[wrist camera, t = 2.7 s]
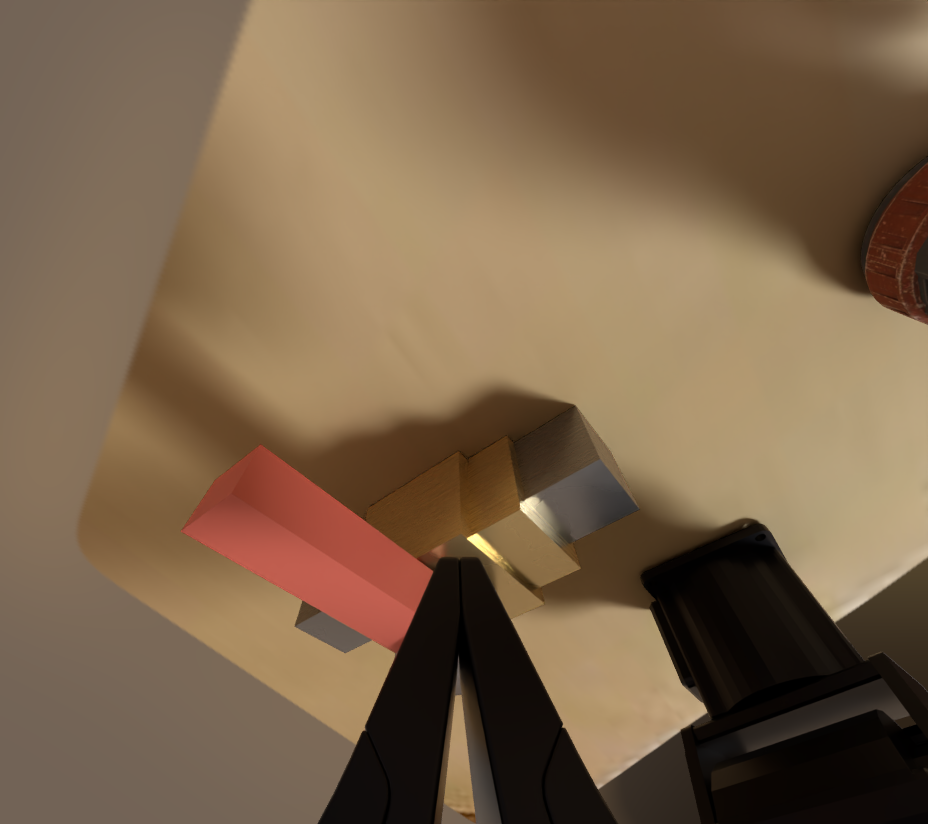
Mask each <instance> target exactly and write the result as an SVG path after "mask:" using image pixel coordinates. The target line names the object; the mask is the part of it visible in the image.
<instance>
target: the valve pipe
mask: <svg viewBox="0 0 928 824" xmlns="http://www.w3.org/2000/svg"><path fill="white" fill-rule="evenodd" d="M637 510H639V507H638V505H637V503H636V501H635V499H634V497H633V495H632V493H631V491H630V489H629V487H628V485H627V483H626V481H625V479H624V477H623V475H622V473H621V471H620V469H619V467H618V465H617V463H616V461H615V459H614V457H613V455H612V453H611V452H610V450H609V449H608V448H607V446H606V445H605V444H604V442H603V441H602V440H601V438H600V437H599V436H598V434H597V433H596V432H595V430H594V429H593V428H592V426H591V425H590V424H589V423H588V421H587V420H586V419H585V417H584V416H583V415H582V413H581V412H580V411H579V409H578V408H577V407H576V406H574V407H572V408H571V409H569V410H567V411H566V412H564V413H563V414H561V415H559V416H558V417H556V418H554V419H553V420H551V421H549V422H548V423H546V424H544V425H543V426H541V427H539V428H538V429H536V430H534V431H533V432H531V433H530V434H528V435H526V436H525V437H523V438H521V439H520V440H518V441H516V442H515V443H513V442H512V441H511V440H510V439H509V437H508V436H505V437H503V438H502V439H500V440H499V441H497V442H495V443H494V444H492V445H491V446H489V447H487V448H486V449H484V450H482V451H481V452H479V453H478V454H476V455H474V456H473V457H471V458H469V459H468V460H467V459H466V458H465V457H464V456H463V455H462V454H461V453H460V452H459V451H458V452H456V453H455V454H453V455H452V456H450V457H448V458H447V459H445V460H444V461H442V462H440V463H439V464H437V465H436V466H434V467H432V468H431V469H429V470H428V471H426V472H425V473H423V474H421V475H420V476H418V477H417V478H415V479H413V480H412V481H410V482H409V483H407V484H406V485H404V486H402V487H401V488H399V489H398V490H396V491H394V492H393V493H391V494H390V495H388V496H386V497H385V498H383V499H382V500H380V501H379V502H377V503H375V504H374V505H372V506H371V507H369V508H368V512H367V516H366V522H367V523H368V524H370V525H371V526H372V527H374V528H375V529H376V530H378V531H379V532H380V533H382V534H383V535H385V536H386V537H387V538H389V539H390V540H391V541H393V542H394V543H395V544H397V545H398V546H399V547H401V548H402V549H404V550H405V551H406V552H408V553H409V554H410V555H412V556H413V557H414V558H416V559H417V560H418V561H420V562H421V563H423V564H424V565H425V566H427V567H428V568H429V569H431V570H432V571H434V569H435V567H436V564H437V562H438V560H439V559H440V558H441V557H457V558H458V559H459V561H460V558H461V557H478V558H479V559H480V560H481V562H482V564H483V566H484V568H485V570H486V572H487V574H488V576H489V578H490V580H491V582H492V584H493V586H494V588H495V590H496V592H497V594H498V596H499V598H500V600H501V602H502V603H503V605H504V607H505V609H506V611H507V613H508V615H509V617H510V619H512V618H514V617H517V616H519V615H521V614H523V613H526V612H528V611H530V610H532V609H534V608H537V607H539V606H541V605H543V604H545V602H544V597H543V592H542V586H544V585H546V584H548V583H551V582H553V581H555V580H557V579H559V578H561V577H564V576H566V575H568V574H570V573H572V572H574V571H577V570H579V569H581V567H580V564H579V560H578V557H577V554H576V550H575V547H574V544H573V542H574V541H576V540H578V539H580V538H582V537H584V536H586V535H588V534H590V533H592V532H594V531H596V530H598V529H600V528H603V527H605V526H607V525H609V524H611V523H613V522H615V521H617V520H619V519H621V518H623V517H625V516H627V515H629V514H631V513H633V512H635V511H637ZM295 627H296V628H298V629H300V630H302V631H304V632H306V633H308V634H310V635H312V636H314V637H315V638H317V639H319V640H321V641H323V642H325V643H327V644H329V645H331V646H333V647H334V648H336V649H338V650H340V651H342V652H344V653H347V652H349V651H351V650H353V649H355V648H357V647H359V646H361V645H363V644H365V643H367V642H369V641H371V640H372V639H370V638H368V637H366V636H365V635H363V634H361V633H359V632H358V631H356V630H354V629H352V628H350V627H349V626H347V625H345V624H343V623H342V622H340V621H338V620H336V619H335V618H333V617H331V616H329V615H328V614H326V613H324V612H322V611H320V610H319V609H317V608H315V607H313V606H312V605H310V604H308V603H306V602H305V601H302V604H301V607H300V610H299V614H298V617H297V620H296V623H295ZM376 643H377V642H376ZM378 644H379V643H378ZM380 645H381V644H380ZM383 647H384V646H383ZM385 648H386V647H385ZM387 649H388V648H387ZM392 652H393V651H392ZM394 653H395V652H394Z"/></svg>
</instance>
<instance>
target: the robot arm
mask: <svg viewBox="0 0 928 824" xmlns="http://www.w3.org/2000/svg"><path fill="white" fill-rule="evenodd" d="M640 579H641V581H642V584H643V586H644V588H645V589H646V590H647V591H648V592H649V593H650V594H651V595H652V596H653V597H654V598H655V600H656V601H654V602H651V606H650V610H651V612H652V614H653V617H654V619H655V621H656V624H657V626H658V629H659V631H660V633H661V636H662V638H663V640H664V643H665V645H666V648H667V650H668V652H669V655H670V657H671V660H672V662H673V664H674V667H675V669H676V671H677V674H678V676H679V679H680V681H681V683H682V685H683V686H684V687H685V688H686V689H688V690H689V691H690V692H691V693H692V694H693V695H694V696H695V697H696V698H697V699H698V700H699V701H701V702H702V703H704V705H705V707H706V709H707V712H708V714H709V716H710V718H711V721H709V722H706V723H703V724H701V725H698V726H696V727H695V726H692V725H691V726H688V727H686V728H683V729H681V735H682V739H683V744H684V748H685V756H686V760H687V764H688V769H689V773H690V777H691V782H692V785H693V790H694V794H695V799H696V803H697V807H698V812H699V816H700V820H701V824H928V692H927V691H926V690H925V688H924V687H923V686H922V685H921V684H919V683H918V682H917V681H916V680H915V679H914V678H912V677H911V676H910V675H909V674H908V673H907V672H906V671H904V670H903V669H902V668H901V667H900V666H898V665H897V664H896V663H895V662H894V661H893V660H892V659H890V658H889V657H888V656H887V655H886V654H885V653H884V652H882V651H881V652H879V653H876V654H874V655H871V656H869V657H868V659H869V660H867V661H864V660H863V658H862V657H861V656H860V654H859V653H858V652H857V651H856V649H855V648H854V647H853V646H852V644H851V643H850V642H849V640H848V639H847V638H846V637H845V635H844V634H843V633H842V631H841V630H840V629H839V628H838V626H837V625H836V624H835V623H834V621H833V620H832V619H831V617H830V616H829V615H828V614H827V612H826V611H825V610H824V608H823V607H822V606H821V605H820V603H819V602H818V601H817V600H816V598H815V597H814V596H813V594H812V593H811V592H810V591H809V589H808V588H807V587H806V585H805V584H804V583H803V582H802V580H801V579H800V578H799V577H798V575H797V574H796V573H795V571H794V570H793V569H792V568H791V566H790V565H789V564H788V562H787V560H786V559H785V557H784V555H783V553H782V551H781V550H780V548H779V546H778V544H777V542H776V541H775V539H774V537H773V535H772V533H771V532H770V531H769V529H768V528H767V527H766V526H765V525H763V524H756V525H753V526H750V527H748V528H746V529H743V530H741V531H739V532H736V533H734V534H732V535H730V536H727V537H725V538H723V539H720V540H718V541H716V542H713V543H711V544H709V545H707V546H704V547H702V548H700V549H697V550H695V551H693V552H690V553H688V554H686V555H684V556H681V557H679V558H677V559H674V560H672V561H670V562H667V563H665V564H663V565H661V566H658V567H656V568H654V569H651V570H649V571H647V572H645V573H643V574H642V575H641V577H640ZM458 657H459V674H460V684H461V693H462V702H463V711H464V719H465V728H466V737H467V746H468V754H469V763H470V772H471V781H472V789H473V798H474V807H475V816H476V824H618V823H617V821H616V819H615V818H614V816H613V814H612V813H611V811H610V809H609V808H608V806H607V804H606V803H605V801H604V799H603V798H602V796H601V794H600V792H599V791H598V789H597V787H596V786H595V784H594V782H593V780H592V778H591V776H590V774H589V772H588V771H587V769H586V767H585V765H584V763H583V761H582V759H581V758H580V756H579V754H578V752H577V750H576V748H575V746H574V744H573V742H572V740H571V738H570V736H569V734H568V732H567V730H566V729H565V728H562V726H563V723H562V721H561V719H560V717H559V715H558V713H557V711H556V709H555V707H554V705H553V703H552V701H551V699H550V697H549V695H548V693H547V691H546V689H545V687H544V685H543V683H542V681H541V679H540V677H539V675H538V673H537V671H536V669H535V667H534V665H533V663H532V661H531V659H530V657H529V655H528V653H527V651H526V649H525V647H524V645H523V643H522V641H521V639H520V637H519V635H518V633H517V631H516V629H515V627H514V625H513V623H512V621H511V619H510V617H509V615H508V613H507V611H506V609H505V607H504V605H503V603H502V602H501V600H500V598H499V596H498V594H497V592H496V590H495V588H494V586H493V584H492V582H491V580H490V578H489V576H488V574H487V572H486V570H485V568H484V566H483V564H482V562H481V560H480V559H479V558H478V557H461V558H460V561H459V559H458V558H457V557H441V558H440V559H439V560H438V562H437V564H436V567H435V569H434V571H433V573H432V576H431V578H430V580H429V582H428V585H427V587H426V589H425V591H424V594H423V596H422V598H421V600H420V603H419V605H418V607H417V609H416V612H415V614H414V616H413V619H412V621H411V623H410V625H409V628H408V630H407V632H406V634H405V637H404V639H403V641H402V643H401V646H400V648H399V650H398V652H397V655H396V657H395V659H394V661H393V664H392V666H391V668H390V670H389V673H388V675H387V677H386V680H385V682H384V684H383V686H382V689H381V691H380V693H379V695H378V698H377V700H376V702H375V704H374V707H373V709H372V711H371V713H370V716H369V718H368V720H367V722H366V725H365V730H366V731H363V732H362V733H361V735H360V738H359V740H358V742H357V744H356V747H355V749H354V751H353V753H352V756H351V758H350V760H349V762H348V764H347V766H346V768H345V770H344V773H343V775H342V777H341V779H340V781H339V783H338V785H337V787H336V790H335V792H334V794H333V796H332V797H331V799H330V801H329V803H328V805H327V807H326V809H325V811H324V813H323V814H322V816H321V818H320V820H319V822H318V824H441V821H442V812H443V803H444V794H445V784H446V775H447V766H448V757H449V747H450V738H451V729H452V719H453V710H454V701H455V692H456V682H457V671H458ZM909 715H910V716H911V717H912V719H913V720H914V721H915V722H916V725H913V726H910V727H907V728H903V729H902V728H901V727H900V726H899V725H898V724H897V723H896V722H895V721H894V720H896V719H900V718H903V717H905V716H909ZM561 728H562V729H561Z"/></svg>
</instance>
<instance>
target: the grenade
mask: <svg viewBox="0 0 928 824" xmlns="http://www.w3.org/2000/svg"><path fill="white" fill-rule="evenodd" d="M861 266H862V270H863V273H864V276H865V278H866V282H867V285H868V288H869V290H870V292H871V294H872V295H873V297H874V298H875V299H876V300H877V301H878V302H879V303H880V304H881V305H882V306H884V307H886V308H888V309H890V310H893V311H895V312H898V313H900V314H903V315H905V316H908V317H910V318H912V319H915V320H917V321H920V322H922V323H925V324H927V325H928V157H926V158H925V159H924V160H922V161H921V162H920V163H918V164H917V165H916V166H915V167H914V168H913V169H911V170H910V171H909V172H908V173H907V174H906V175H905V176H904V177H903V178H902V179H901V180H900V181H899V182H898V183H897V184H896V185H895V186H894V187H893V189H892V190H891V191H890V192H889V194H888V195H887V196H886V197H885V199H884V200H883V201H882V203H881V204H880V206H879V207H878V209H877V210H876V212H875V214H874V216H873V218H872V220H871V221H870V223H869V226H868V228H867V231H866V233H865V236H864V240H863V244H862V249H861Z"/></svg>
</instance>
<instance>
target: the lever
mask: <svg viewBox="0 0 928 824" xmlns="http://www.w3.org/2000/svg"><path fill="white" fill-rule="evenodd" d="M181 532H183V533H184V534H186V535H188V536H190V537H192V538H193V539H195V540H197V541H199V542H200V543H202V544H204V545H206V546H207V547H209V548H211V549H213V550H215V551H216V552H218V553H220V554H222V555H223V556H225V557H227V558H229V559H230V560H232V561H234V562H236V563H237V564H239V565H241V566H243V567H245V568H246V569H248V570H250V571H252V572H253V573H255V574H257V575H259V576H260V577H262V578H264V579H266V580H267V581H269V582H271V583H273V584H275V585H276V586H278V587H280V588H282V589H283V590H285V591H287V592H289V593H290V594H292V595H294V596H296V597H298V598H299V599H301V600H303V601H305V602H306V603H308V604H310V605H312V606H313V607H315V608H317V609H319V610H320V611H322V612H324V613H326V614H328V615H329V616H331V617H333V618H335V619H336V620H338V621H340V622H342V623H343V624H345V625H347V626H349V627H350V628H352V629H354V630H356V631H358V632H359V633H361V634H363V635H365V636H366V637H368V638H370V639H372V640H373V641H375V642H377V643H379V644H381V645H382V646H384V647H386V648H388V649H389V650H391V651H393V652H395V657H396V655H397V652H398V650H399V648H400V646H401V643H402V641H403V639H404V637H405V634H406V632H407V630H408V628H409V625H410V623H411V621H412V619H413V616H414V614H415V612H416V609H417V607H418V605H419V603H420V600H421V598H422V596H423V594H424V591H425V589H426V587H427V585H428V582H429V580H430V578H431V576H432V573H433V571H432V570H431V569H429V568H428V567H427V566H425V565H424V564H423V563H421V562H420V561H418V560H417V559H416V558H414V557H413V556H412V555H410V554H409V553H408V552H406V551H405V550H404V549H402V548H401V547H399V546H398V545H397V544H395V543H394V542H393V541H391V540H390V539H389V538H387V537H386V536H385V535H383V534H382V533H380V532H379V531H378V530H376V529H375V528H374V527H372V526H371V525H370V524H368V523H367V522H366V521H364V520H363V519H361V518H360V517H359V516H357V515H356V514H355V513H353V512H352V511H351V510H349V509H348V508H347V507H345V506H344V505H342V504H341V503H340V502H338V501H337V500H336V499H334V498H333V497H332V496H330V495H329V494H327V493H326V492H325V491H323V490H322V489H321V488H319V487H318V486H317V485H315V484H314V483H313V482H311V481H310V480H308V479H307V478H306V477H304V476H303V475H302V474H300V473H299V472H298V471H296V470H295V469H294V468H292V467H291V466H289V465H288V464H287V463H285V462H284V461H283V460H281V459H280V458H279V457H277V456H276V455H275V454H273V453H272V452H270V451H269V450H268V449H266V448H265V447H264V446H262V445H261V444H260V445H259V446H258V447H257V448H255V449H254V450H253V451H252V452H250V453H249V454H248V455H246V456H245V457H244V458H243V459H241V460H240V461H239V462H238V463H236V464H235V465H234V466H232V467H231V468H230V469H229V470H227V471H226V472H225V473H224V474H222V475H221V476H220V477H219V478H217V479H216V480H215V481H214V482H213V484H212V485H211V487H210V488H209V490H208V491H207V493H206V494H205V496H204V497H203V499H202V500H201V502H200V503H199V505H198V506H197V508H196V509H195V511H194V512H193V514H192V515H191V517H190V518H189V520H188V521H187V523H186V524H185V526H184V527H183V529H182V530H181ZM455 695H462V693H461V684H460V674H459V657H458V671H457V682H456V692H455Z"/></svg>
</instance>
